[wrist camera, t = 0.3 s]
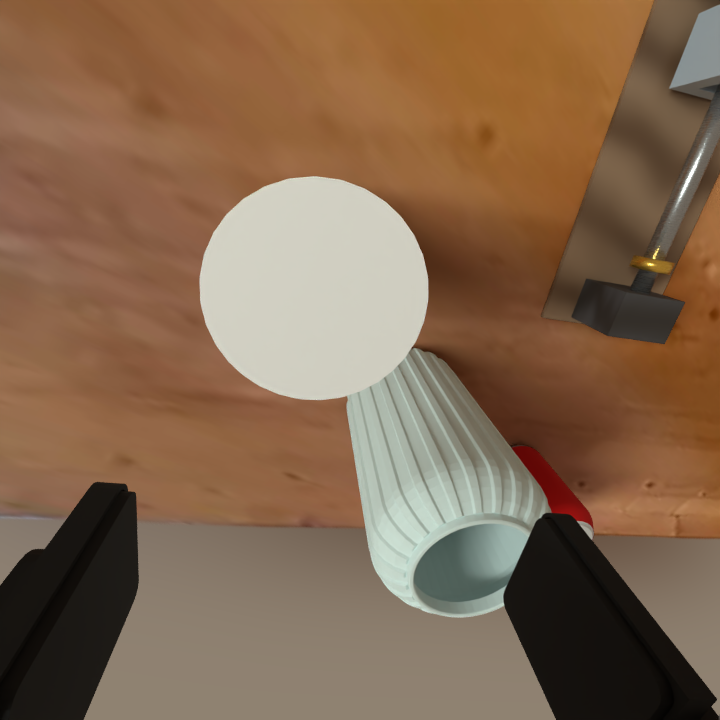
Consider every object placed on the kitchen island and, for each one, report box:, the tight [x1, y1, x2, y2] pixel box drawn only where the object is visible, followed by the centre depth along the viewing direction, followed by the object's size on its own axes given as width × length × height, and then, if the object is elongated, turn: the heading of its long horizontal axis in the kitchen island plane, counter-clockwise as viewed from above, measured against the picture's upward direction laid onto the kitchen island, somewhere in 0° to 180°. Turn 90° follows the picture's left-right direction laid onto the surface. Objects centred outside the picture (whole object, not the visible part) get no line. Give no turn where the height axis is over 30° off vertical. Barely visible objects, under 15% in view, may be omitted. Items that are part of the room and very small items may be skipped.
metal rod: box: [629, 84, 720, 294], centre depth 33 cm, size 26×3×3 cm, turn 170°
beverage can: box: [511, 445, 594, 540], centre depth 43 cm, size 6×6×12 cm
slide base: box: [541, 0, 720, 344], centre depth 33 cm, size 32×12×7 cm, turn 170°
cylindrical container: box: [200, 176, 428, 400], centre depth 24 cm, size 7×7×25 cm
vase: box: [347, 348, 551, 617], centre depth 33 cm, size 12×12×22 cm
